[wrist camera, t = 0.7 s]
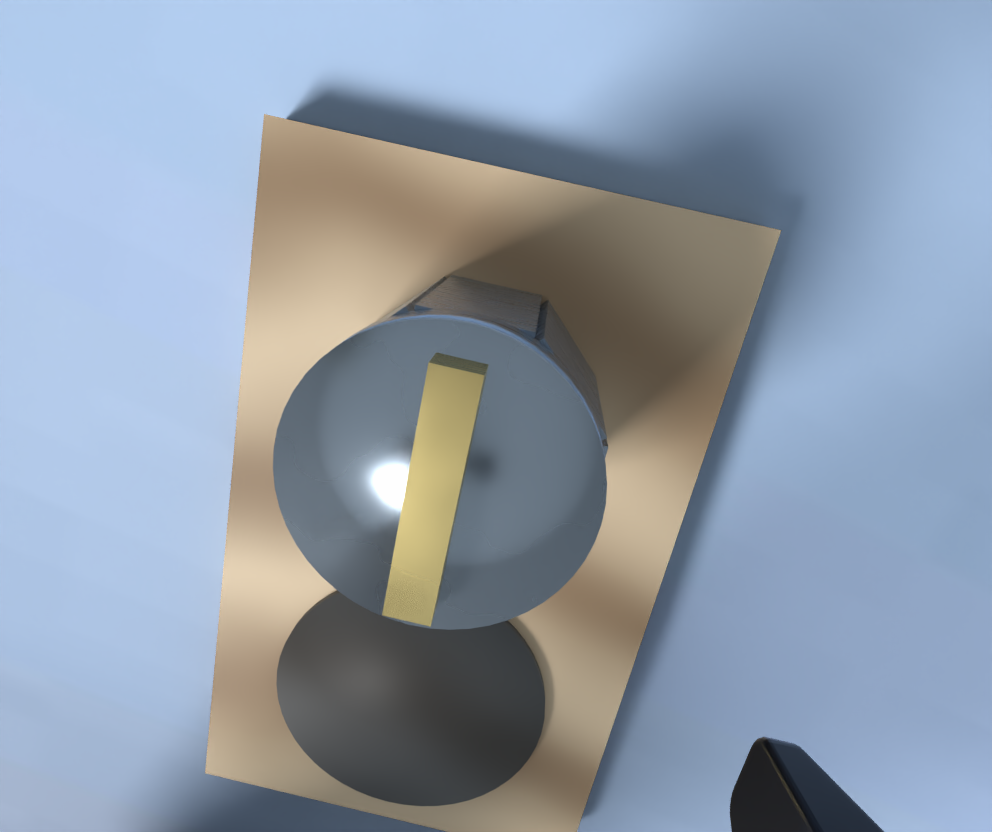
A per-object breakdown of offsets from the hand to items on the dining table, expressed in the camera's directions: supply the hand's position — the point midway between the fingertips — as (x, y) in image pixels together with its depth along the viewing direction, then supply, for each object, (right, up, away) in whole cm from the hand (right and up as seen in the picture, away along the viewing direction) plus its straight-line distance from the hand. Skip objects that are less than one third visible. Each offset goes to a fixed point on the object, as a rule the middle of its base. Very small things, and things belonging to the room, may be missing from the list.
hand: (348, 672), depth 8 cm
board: (0, -1, +12) cm, 12 cm away
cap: (+1, +3, +10) cm, 10 cm away
